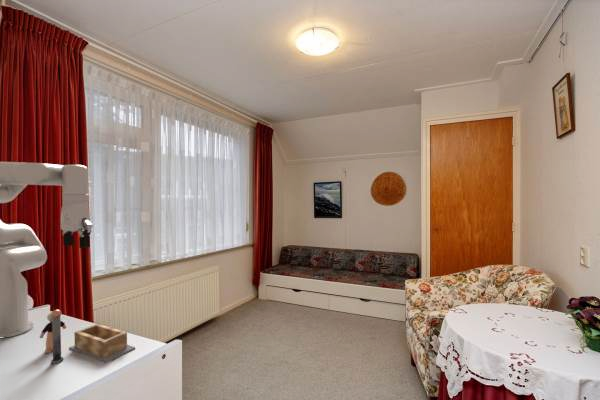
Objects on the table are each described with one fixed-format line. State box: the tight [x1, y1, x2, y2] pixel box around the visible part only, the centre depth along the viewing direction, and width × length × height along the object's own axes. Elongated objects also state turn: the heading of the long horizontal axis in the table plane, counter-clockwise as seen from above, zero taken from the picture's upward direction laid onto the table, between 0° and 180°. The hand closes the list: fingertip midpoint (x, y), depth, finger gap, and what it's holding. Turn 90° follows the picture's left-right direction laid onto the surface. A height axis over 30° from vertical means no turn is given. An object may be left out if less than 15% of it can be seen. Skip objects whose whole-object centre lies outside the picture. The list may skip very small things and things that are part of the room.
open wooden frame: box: [73, 323, 128, 358], centre depth 102 cm, size 16×8×5 cm, turn 65°
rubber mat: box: [68, 344, 136, 364], centre depth 102 cm, size 20×10×1 cm, turn 65°
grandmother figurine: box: [39, 311, 67, 354], centre depth 102 cm, size 8×4×13 cm, turn 168°
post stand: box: [50, 309, 64, 365], centre depth 94 cm, size 3×3×16 cm
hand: (76, 246), depth 109 cm, fingers open, 9 cm apart
